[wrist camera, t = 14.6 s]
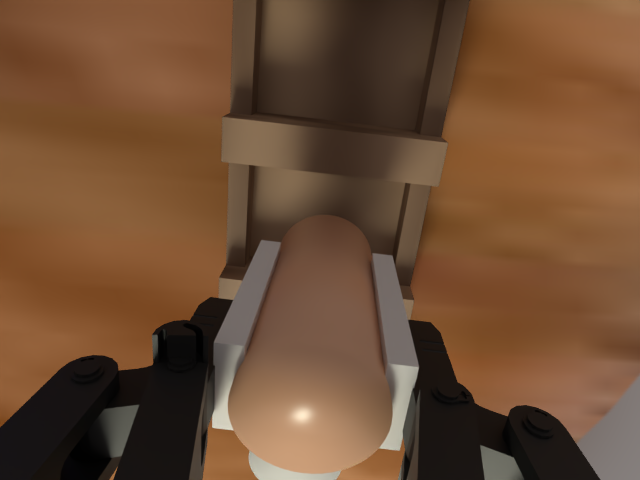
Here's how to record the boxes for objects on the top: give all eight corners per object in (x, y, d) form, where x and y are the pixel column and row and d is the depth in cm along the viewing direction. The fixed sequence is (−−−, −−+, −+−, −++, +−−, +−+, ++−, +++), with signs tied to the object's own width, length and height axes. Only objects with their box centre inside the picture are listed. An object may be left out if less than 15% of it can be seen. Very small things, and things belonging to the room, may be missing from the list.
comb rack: (231, 381, 30) (216, 426, 26) (247, -75, 20) (226, -105, 16) (377, 397, 30) (382, 445, 26) (466, -50, 20) (495, -74, 16)
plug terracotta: (275, 293, 20) (226, 464, 11) (281, 209, 18) (229, 335, 10) (364, 304, 20) (379, 482, 11) (378, 220, 18) (406, 355, 10)
